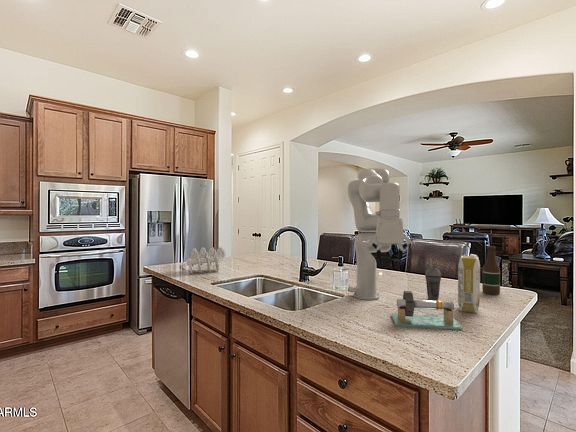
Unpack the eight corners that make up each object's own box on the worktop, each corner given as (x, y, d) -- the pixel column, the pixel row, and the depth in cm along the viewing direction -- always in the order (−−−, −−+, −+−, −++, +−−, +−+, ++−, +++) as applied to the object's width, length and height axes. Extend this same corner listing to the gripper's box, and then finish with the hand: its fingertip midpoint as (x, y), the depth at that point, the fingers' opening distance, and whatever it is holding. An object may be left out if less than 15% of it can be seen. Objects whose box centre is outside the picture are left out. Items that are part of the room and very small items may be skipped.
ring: (406, 318, 120) (406, 294, 120) (402, 311, 129) (402, 288, 129) (413, 319, 119) (413, 295, 119) (409, 311, 128) (409, 289, 128)
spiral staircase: (186, 278, 222) (222, 273, 233) (190, 271, 207) (227, 266, 219) (183, 253, 228) (217, 249, 240) (186, 245, 213) (223, 241, 225)
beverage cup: (443, 302, 149) (443, 259, 149) (426, 301, 151) (426, 258, 150) (439, 297, 156) (439, 256, 156) (423, 297, 158) (423, 256, 157)
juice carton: (479, 314, 132) (479, 256, 131) (457, 311, 136) (457, 254, 135) (479, 308, 139) (480, 253, 139) (459, 305, 144) (459, 252, 143)
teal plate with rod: (395, 326, 119) (395, 302, 119) (391, 315, 131) (391, 294, 131) (462, 330, 115) (462, 306, 115) (452, 318, 127) (452, 296, 127)
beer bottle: (483, 294, 162) (484, 246, 161) (481, 290, 169) (481, 245, 169) (501, 295, 159) (502, 247, 158) (498, 291, 166) (498, 245, 166)
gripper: (366, 214, 122) (367, 261, 123) (415, 214, 119) (414, 262, 120) (365, 214, 130) (366, 258, 130) (411, 214, 127) (411, 259, 127)
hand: (389, 260), depth 125 cm, fingers open, 6 cm apart
